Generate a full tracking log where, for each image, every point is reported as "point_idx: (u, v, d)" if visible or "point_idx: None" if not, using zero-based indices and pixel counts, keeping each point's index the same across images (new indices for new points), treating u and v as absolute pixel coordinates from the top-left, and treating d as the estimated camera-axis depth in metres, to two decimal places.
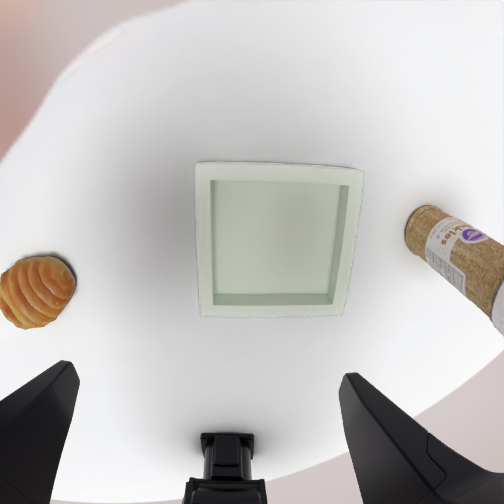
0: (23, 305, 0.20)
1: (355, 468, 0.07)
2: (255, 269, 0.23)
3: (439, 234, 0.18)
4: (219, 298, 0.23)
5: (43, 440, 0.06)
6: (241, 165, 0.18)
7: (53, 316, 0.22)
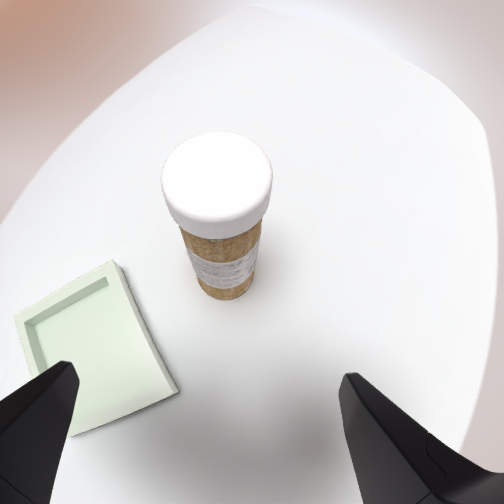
0: None
1: (355, 468, 0.07)
2: (86, 388, 0.19)
3: None
4: None
5: (43, 440, 0.06)
6: (36, 303, 0.20)
7: None
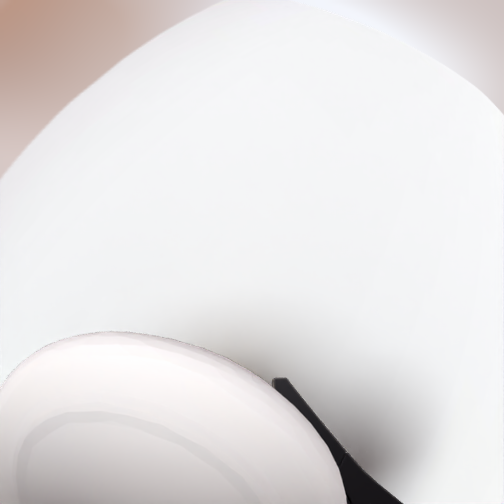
0: None
1: None
2: None
3: None
4: None
5: None
6: None
7: None
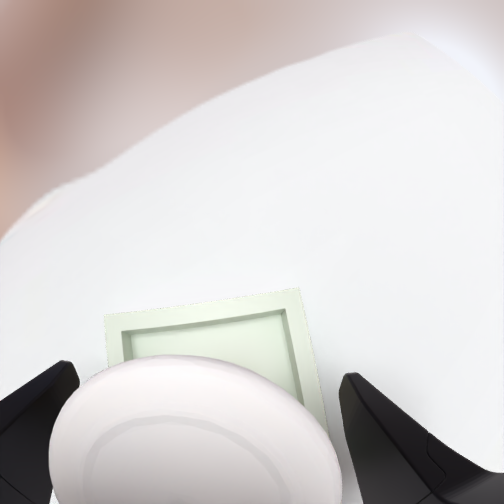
0: None
1: (355, 468, 0.07)
2: None
3: None
4: None
5: (43, 440, 0.06)
6: (152, 310, 0.15)
7: None
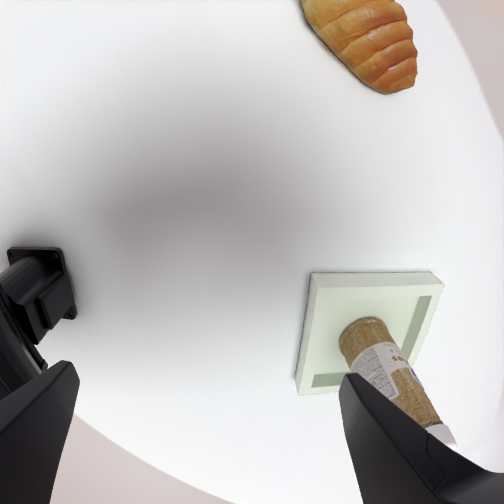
0: (376, 15, 0.12)
1: (355, 468, 0.07)
2: (343, 322, 0.23)
3: (393, 350, 0.19)
4: None
5: (43, 440, 0.06)
6: (433, 314, 0.21)
7: (347, 49, 0.14)
